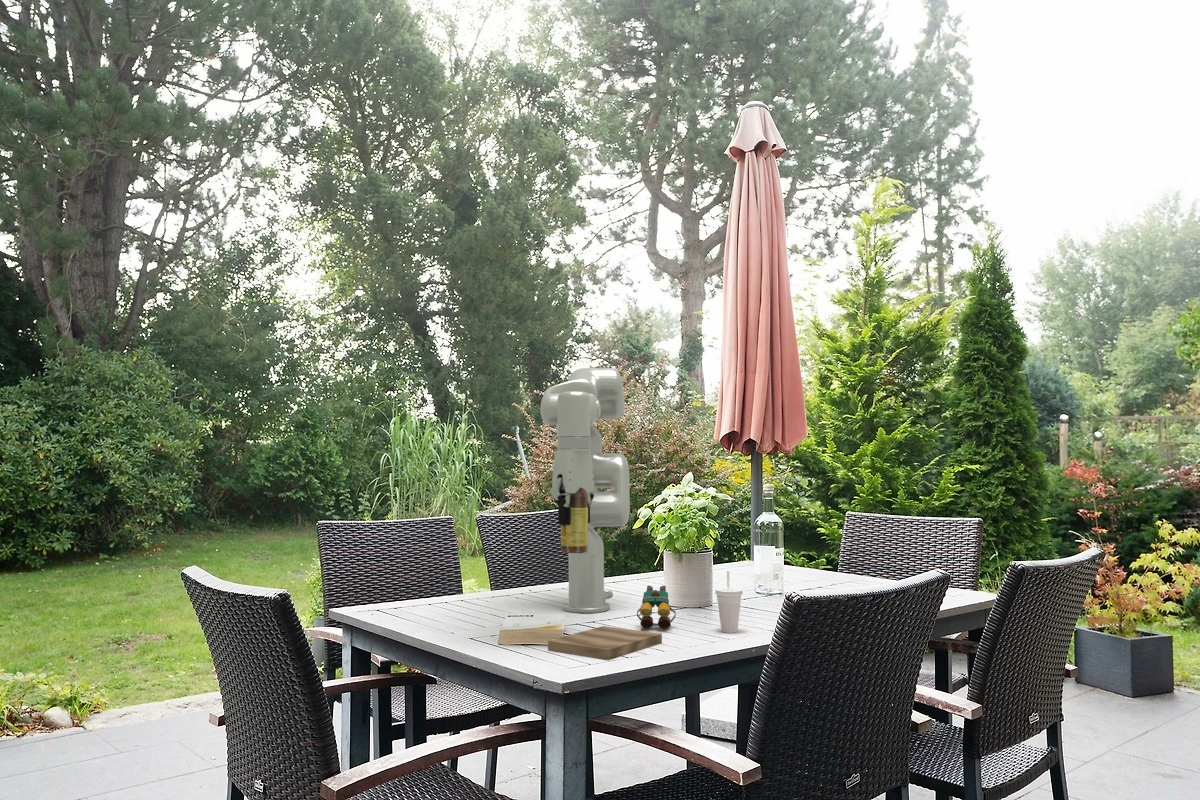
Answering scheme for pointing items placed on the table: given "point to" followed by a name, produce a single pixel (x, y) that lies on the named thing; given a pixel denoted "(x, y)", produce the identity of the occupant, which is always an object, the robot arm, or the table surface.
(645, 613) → the binoculars
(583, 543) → the sauce bottle
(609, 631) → the walnut board
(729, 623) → the smoothie
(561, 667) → the table surface
